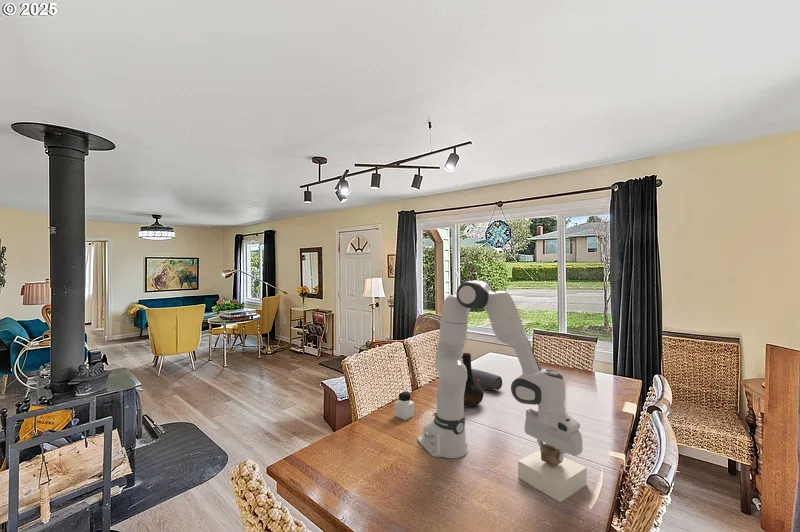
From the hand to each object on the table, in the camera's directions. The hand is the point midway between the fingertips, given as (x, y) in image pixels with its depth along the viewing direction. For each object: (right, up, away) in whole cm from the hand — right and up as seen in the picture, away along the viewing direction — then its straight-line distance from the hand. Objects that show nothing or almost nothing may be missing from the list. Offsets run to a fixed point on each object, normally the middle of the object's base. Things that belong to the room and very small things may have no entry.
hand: (551, 456), depth 122 cm
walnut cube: (0, -2, 0) cm, 2 cm away
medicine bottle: (-51, -9, +53) cm, 74 cm away
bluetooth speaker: (-1, -9, +96) cm, 96 cm away
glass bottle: (-17, -9, +69) cm, 71 cm away
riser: (0, -9, 0) cm, 9 cm away
